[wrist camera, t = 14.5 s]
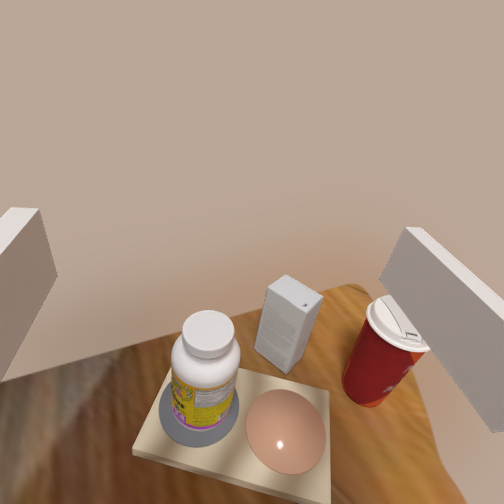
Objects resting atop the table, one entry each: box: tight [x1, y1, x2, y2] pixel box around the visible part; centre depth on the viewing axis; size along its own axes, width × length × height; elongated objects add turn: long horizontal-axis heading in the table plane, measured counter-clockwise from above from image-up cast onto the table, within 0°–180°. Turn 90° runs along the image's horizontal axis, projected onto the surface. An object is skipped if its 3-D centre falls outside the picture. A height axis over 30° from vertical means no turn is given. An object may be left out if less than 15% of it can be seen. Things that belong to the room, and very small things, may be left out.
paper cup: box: [342, 295, 431, 407], centre depth 38 cm, size 8×8×14 cm
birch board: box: [132, 368, 331, 504], centre depth 36 cm, size 20×12×2 cm, turn 79°
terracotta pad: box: [246, 389, 326, 475], centre depth 35 cm, size 9×9×1 cm
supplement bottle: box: [171, 310, 240, 432], centre depth 32 cm, size 7×7×13 cm
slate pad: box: [159, 382, 239, 448], centre depth 35 cm, size 9×9×1 cm
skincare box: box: [254, 274, 323, 374], centre depth 41 cm, size 6×4×12 cm
